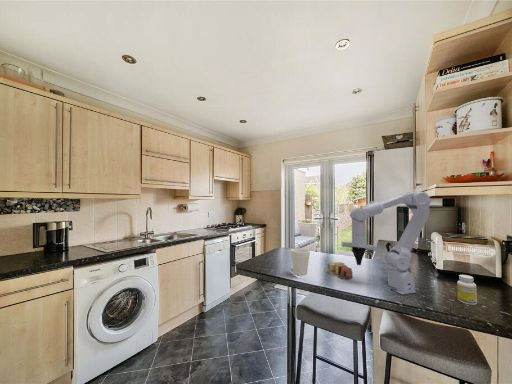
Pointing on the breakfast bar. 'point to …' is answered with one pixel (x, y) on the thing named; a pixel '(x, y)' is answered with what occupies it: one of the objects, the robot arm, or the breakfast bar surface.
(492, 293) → the breakfast bar surface
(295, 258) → the foam cup
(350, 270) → the orange grey block
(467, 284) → the supplement bottle
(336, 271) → the tan lumpy piece
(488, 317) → the breakfast bar surface
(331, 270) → the bearing stand
